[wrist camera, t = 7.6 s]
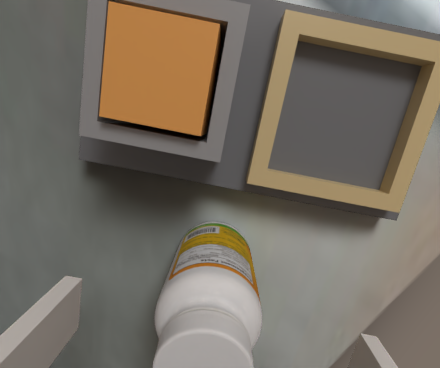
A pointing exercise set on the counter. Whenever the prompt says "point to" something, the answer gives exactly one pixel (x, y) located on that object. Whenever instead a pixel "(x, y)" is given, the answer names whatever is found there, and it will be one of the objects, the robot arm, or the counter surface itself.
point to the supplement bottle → (209, 302)
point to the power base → (285, 106)
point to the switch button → (159, 69)
